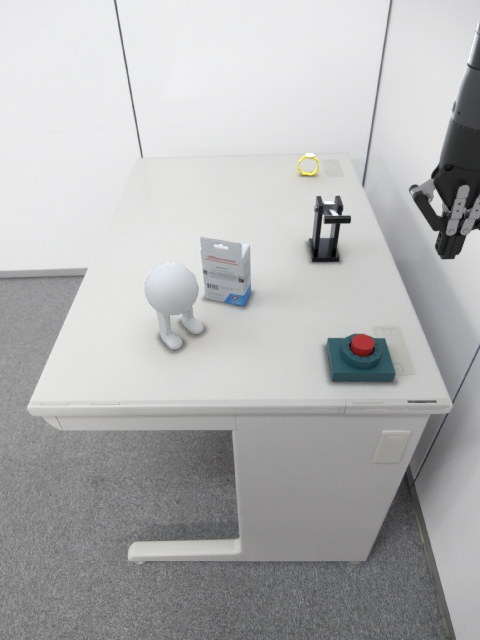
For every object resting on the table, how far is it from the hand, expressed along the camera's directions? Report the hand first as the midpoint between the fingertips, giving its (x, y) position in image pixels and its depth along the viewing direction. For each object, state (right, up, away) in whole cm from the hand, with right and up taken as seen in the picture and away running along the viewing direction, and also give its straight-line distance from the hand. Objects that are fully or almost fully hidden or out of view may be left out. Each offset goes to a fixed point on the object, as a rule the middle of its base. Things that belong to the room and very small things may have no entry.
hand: (445, 255), depth 57 cm
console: (-6, -16, +19) cm, 26 cm away
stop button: (-6, -13, +17) cm, 22 cm away
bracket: (-7, +7, +44) cm, 45 cm away
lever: (-8, +12, +33) cm, 36 cm away
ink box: (-29, -3, +34) cm, 44 cm away
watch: (-6, +35, +74) cm, 82 cm away
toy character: (-38, -11, +26) cm, 47 cm away
